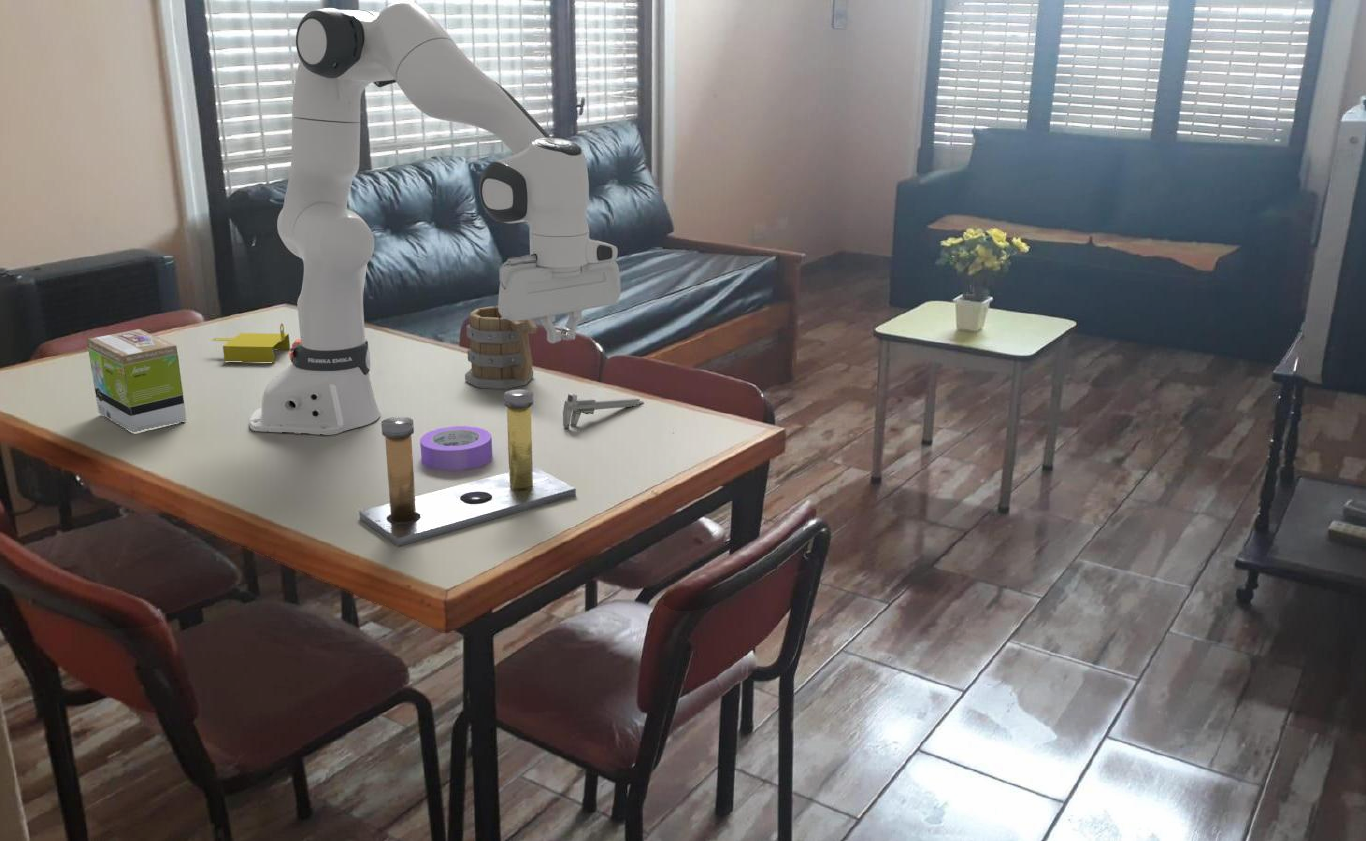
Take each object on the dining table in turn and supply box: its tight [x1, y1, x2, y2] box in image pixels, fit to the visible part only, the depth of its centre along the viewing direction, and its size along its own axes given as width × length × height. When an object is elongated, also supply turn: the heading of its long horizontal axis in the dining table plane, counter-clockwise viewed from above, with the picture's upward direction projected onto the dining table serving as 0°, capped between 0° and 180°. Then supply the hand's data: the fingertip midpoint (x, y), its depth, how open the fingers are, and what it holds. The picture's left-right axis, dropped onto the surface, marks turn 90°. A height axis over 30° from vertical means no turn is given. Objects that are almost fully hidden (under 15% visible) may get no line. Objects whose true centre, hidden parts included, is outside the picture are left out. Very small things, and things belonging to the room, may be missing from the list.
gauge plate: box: [358, 465, 577, 547], centre depth 180 cm, size 30×12×1 cm, turn 130°
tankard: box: [464, 305, 538, 390], centre depth 236 cm, size 20×13×15 cm, turn 37°
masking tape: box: [419, 425, 493, 472], centre depth 199 cm, size 12×12×4 cm
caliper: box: [562, 394, 645, 429], centre depth 221 cm, size 20×1×6 cm, turn 140°
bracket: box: [211, 323, 291, 364], centre depth 254 cm, size 16×8×15 cm
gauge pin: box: [503, 389, 534, 488], centre depth 183 cm, size 4×4×15 cm
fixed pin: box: [380, 416, 416, 522], centre depth 171 cm, size 4×4×15 cm
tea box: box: [86, 328, 187, 432], centre depth 213 cm, size 15×10×15 cm, turn 47°
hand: (561, 340), depth 183 cm, fingers closed
